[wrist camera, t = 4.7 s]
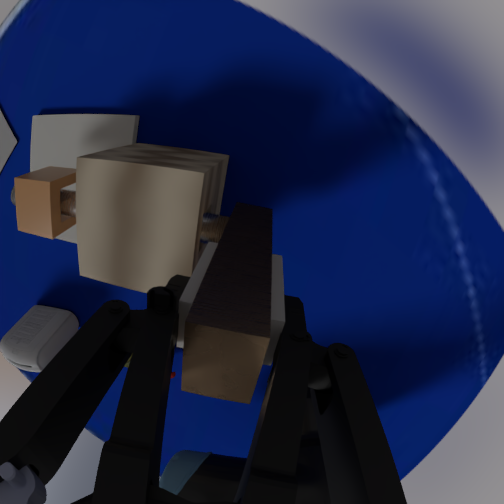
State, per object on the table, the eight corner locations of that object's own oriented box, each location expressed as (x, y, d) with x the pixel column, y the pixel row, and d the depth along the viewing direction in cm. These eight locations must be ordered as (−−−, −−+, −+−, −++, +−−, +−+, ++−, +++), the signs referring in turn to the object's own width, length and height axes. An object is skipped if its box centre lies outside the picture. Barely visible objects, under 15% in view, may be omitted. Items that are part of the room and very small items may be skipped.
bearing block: (229, 155, 29) (204, 173, 18) (214, 245, 33) (188, 303, 22) (138, 142, 29) (76, 157, 18) (132, 229, 33) (80, 275, 22)
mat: (139, 115, 27) (135, 115, 26) (129, 251, 34) (126, 255, 33) (37, 115, 27) (32, 115, 26) (37, 230, 34) (33, 232, 33)
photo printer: (40, 322, 41) (2, 366, 30) (32, 301, 39) (-10, 345, 28) (83, 331, 40) (45, 383, 29) (75, 308, 39) (31, 360, 27)
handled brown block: (272, 209, 25) (270, 338, 10) (262, 252, 26) (249, 403, 12) (29, 171, 24) (-88, 223, 10) (30, 206, 26) (-77, 271, 11)
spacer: (84, 169, 25) (49, 181, 20) (83, 219, 27) (52, 239, 22) (49, 166, 25) (14, 177, 20) (50, 212, 27) (18, 230, 22)
